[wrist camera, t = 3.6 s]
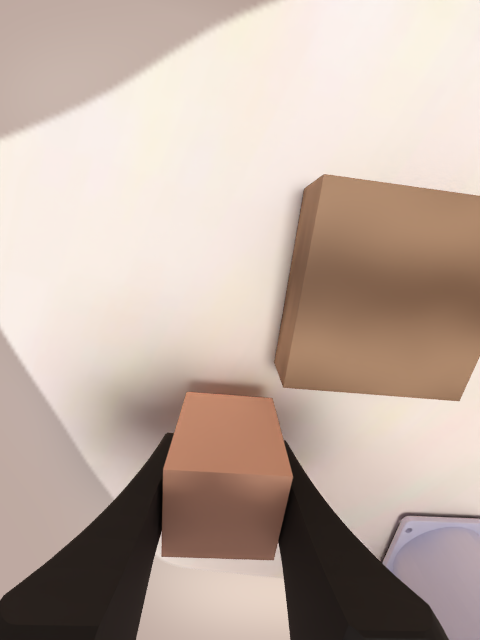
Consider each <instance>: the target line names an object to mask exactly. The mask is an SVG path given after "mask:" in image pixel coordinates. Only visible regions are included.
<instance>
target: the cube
mask: <svg viewBox="0 0 480 640" xmlns="http://www.w3.org/2000/svg"><path fill="white" fill-rule="evenodd" d="M292 479H293V475H292V471H291V467H290V463H289V459H288V455H287V452H286V448H285V444H284V440H283V436H282V433H281V429H280V425H279V421H278V417H277V414H276V410H275V406H274V402H273V398H263V397H250V396H236V395H223V394H210V393H196V392H187V393H186V396H185V399H184V402H183V406H182V409H181V412H180V416H179V419H178V422H177V425H176V429H175V432H174V435H173V439H172V442H171V445H170V449H169V452H168V455H167V458H166V462H165V465H164V468H163V502H162V555H161V557H189V558H221V559H252V560H274V557H275V552H276V548H277V544H278V539H279V535H280V531H281V526H282V522H283V518H284V514H285V509H286V505H287V501H288V496H289V492H290V488H291V483H292Z"/></svg>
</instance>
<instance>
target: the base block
mask: <svg viewBox="0 0 480 640" xmlns="http://www.w3.org/2000/svg"><path fill="white" fill-rule="evenodd" d="M479 357H480V196H476V195H469V194H462V193H455V192H448V191H441V190H434V189H426V188H419V187H412V186H405V185H398V184H391V183H384V182H377V181H370V180H362V179H355V178H348V177H341V176H334V175H327V174H324V175H322V176H321V177H320V178H318V179H317V180H316V181H314V182H313V183H311V184H310V185H309V186H307V187H306V188H305V189H304V193H303V199H302V205H301V211H300V217H299V222H298V228H297V234H296V240H295V246H294V251H293V257H292V263H291V269H290V275H289V280H288V286H287V292H286V298H285V304H284V309H283V315H282V321H281V327H280V333H279V338H278V344H277V350H276V356H275V362H274V363H275V366H276V369H277V371H278V374H279V377H280V380H281V382H282V385H283V388H295V389H308V390H321V391H334V392H347V393H360V394H373V395H386V396H399V397H412V398H425V399H438V400H451V401H460V399H461V396H462V394H463V392H464V390H465V388H466V385H467V383H468V381H469V379H470V377H471V374H472V372H473V370H474V368H475V366H476V363H477V361H478V359H479Z"/></svg>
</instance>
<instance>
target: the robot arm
mask: <svg viewBox="0 0 480 640" xmlns="http://www.w3.org/2000/svg"><path fill="white" fill-rule="evenodd" d="M173 435H174V433H167V434H165V436H164V437H163V439H162V441H161V442H160V444H159V445H158V447H157V448H156V450H155V451H154V452H153V454H152V455H151V457H150V458H149V459H148V461H147V462H146V463H145V465H144V466H143V467H142V468H141V470H140V471H139V472H138V473H137V475H136V476H135V477H134V478H133V479H132V481H131V482H130V483H129V484H128V485H127V486H126V488H125V489H124V490H123V491H122V492H121V493H120V494H119V495H118V497H117V498H116V499H115V500H114V501H113V502H112V503H111V504H110V505H109V506H108V507H107V508H106V509H105V510H104V511H103V512H102V513H101V514H100V515H99V516H98V517H97V518H96V519H95V520H94V521H93V522H92V523H91V524H90V525H89V526H88V527H87V528H86V529H84V531H82V532H81V533H80V534H79V535H78V536H77V537H76V538H74V539H73V540H72V541H71V542H70V543H69V544H68V545H66V546H65V547H64V548H63V549H62V550H61V551H59V552H58V553H57V554H56V555H55V556H54V557H52V559H50V560H49V561H48V562H46V563H45V564H44V565H43V566H41V567H40V568H39V569H37V570H36V571H35V572H34V573H32V574H31V575H30V576H29V577H27V578H26V579H25V580H23V581H22V582H21V583H19V584H18V585H17V586H16V587H14V588H13V589H12V590H10V591H9V592H8V593H6V594H5V595H4V596H3V597H2V599H1V600H0V640H136V636H137V631H138V627H139V622H140V617H141V613H142V609H143V604H144V599H145V595H146V590H147V586H148V582H149V577H150V572H151V568H152V564H153V559H154V556H155V552H156V548H157V545H158V542H159V538H160V535H161V532H162V502H163V468H164V465H165V462H166V458H167V455H168V452H169V449H170V445H171V442H172V439H173ZM284 444H285V448H286V452H287V455H288V459H289V463H290V467H291V471H292V475H293V479H292V483H291V488H290V492H289V496H288V501H287V505H286V509H285V514H284V518H283V522H282V526H281V531H280V535H279V539H278V543H279V548H280V553H281V560H282V566H283V575H284V583H285V591H286V601H287V609H288V620H289V629H290V639H291V640H480V519H474V518H450V517H426V516H406V517H404V518H403V519H402V520H401V522H400V525H399V527H398V529H397V531H396V534H395V536H394V538H393V540H392V542H391V545H390V547H389V549H388V551H387V554H386V556H385V558H384V560H383V562H382V563H381V562H380V561H379V560H378V559H377V558H376V557H375V556H374V555H373V554H372V553H371V552H370V551H369V550H368V549H367V548H366V547H365V546H364V545H363V544H362V543H361V542H360V541H359V539H358V538H357V537H356V536H355V535H354V534H353V533H352V532H351V531H350V530H349V529H348V528H347V526H346V525H345V524H344V523H343V522H342V521H341V519H340V518H339V517H338V516H337V515H336V514H335V512H334V511H333V510H332V509H331V507H330V506H329V505H328V504H327V502H326V501H325V500H324V498H323V497H322V496H321V494H320V493H319V492H318V490H317V489H316V487H315V486H314V485H313V483H312V482H311V480H310V479H309V477H308V476H307V474H306V473H305V471H304V470H303V468H302V467H301V465H300V463H299V462H298V460H297V459H296V457H295V455H294V454H293V452H292V450H291V449H290V447H289V445H288V444H287V442H286V441H285V440H284Z"/></svg>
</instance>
